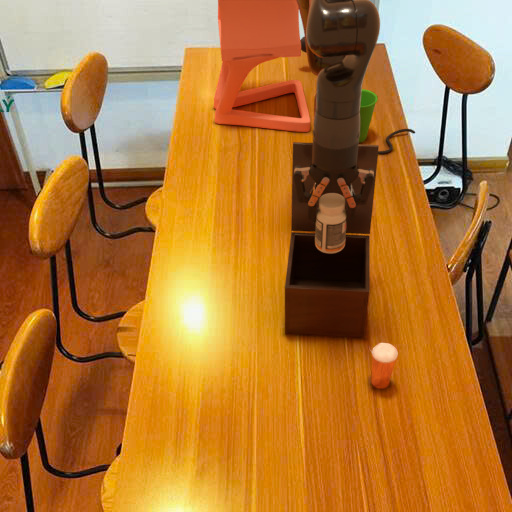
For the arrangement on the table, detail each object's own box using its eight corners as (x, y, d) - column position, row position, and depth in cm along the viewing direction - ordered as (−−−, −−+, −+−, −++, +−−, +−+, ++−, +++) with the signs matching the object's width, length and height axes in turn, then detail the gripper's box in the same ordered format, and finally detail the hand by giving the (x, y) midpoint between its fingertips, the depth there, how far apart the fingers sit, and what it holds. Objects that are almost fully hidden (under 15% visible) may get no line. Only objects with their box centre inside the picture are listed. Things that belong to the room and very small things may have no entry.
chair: (212, 94, 198) (200, -43, 171) (300, 89, 199) (302, -49, 172) (215, 138, 183) (203, -5, 156) (311, 132, 184) (315, -11, 157)
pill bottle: (348, 239, 130) (352, 193, 123) (340, 257, 127) (343, 212, 119) (319, 233, 131) (321, 188, 124) (310, 251, 128) (312, 206, 120)
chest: (363, 338, 136) (369, 291, 126) (284, 334, 137) (284, 287, 127) (364, 282, 146) (369, 235, 136) (290, 279, 147) (291, 231, 138)
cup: (371, 148, 179) (375, 107, 170) (337, 145, 180) (339, 104, 172) (375, 130, 184) (379, 90, 176) (341, 127, 186) (344, 87, 177)
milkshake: (361, 374, 130) (366, 337, 122) (389, 372, 130) (396, 335, 122) (365, 393, 127) (371, 356, 119) (394, 390, 127) (401, 353, 119)
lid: (378, 146, 124) (378, 144, 125) (292, 143, 126) (293, 142, 126) (369, 234, 136) (369, 232, 136) (291, 231, 137) (291, 229, 138)
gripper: (380, 124, 114) (370, 210, 127) (293, 121, 115) (292, 207, 128) (380, 149, 109) (370, 235, 122) (290, 145, 110) (289, 232, 123)
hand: (330, 220), depth 125 cm, fingers closed on pill bottle, 5 cm apart
